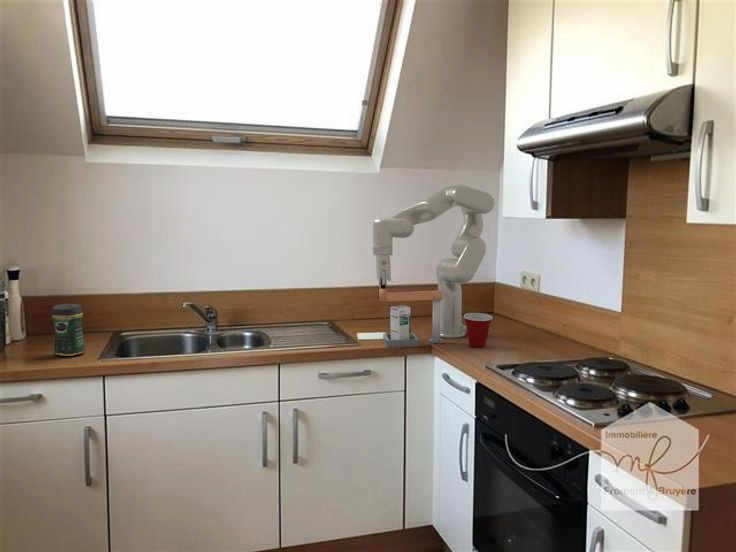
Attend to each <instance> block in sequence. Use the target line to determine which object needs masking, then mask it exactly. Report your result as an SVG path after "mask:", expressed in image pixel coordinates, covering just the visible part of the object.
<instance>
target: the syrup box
mask: <svg viewBox="0 0 736 552" xmlns="http://www.w3.org/2000/svg"><path fill="white" fill-rule="evenodd" d="M389 309H390V310H389V311H390V312H389V313H390V315H389V316H390V334H391V340H404V339H411V333H412V331H411V330H412V328H411V327H412V326H411V325H412V323H411V321H412V319H411V318H412V317H411V314H412V313H411V310H412V309H411V306H409V305H404V304H403V305H395V306H390V307H389Z"/></svg>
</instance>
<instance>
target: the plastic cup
mask: <svg viewBox="0 0 736 552" xmlns="http://www.w3.org/2000/svg"><path fill="white" fill-rule="evenodd" d="M463 318H464V321H465V322H464V323H465V326H466V327H467V330H466V333H467V339H468V344H469V347H470V348H473V349H484V348H485V347H486V345H487V340H488V337H489V330H490V325H491V322H492V320H493V319H494V317H493V316H492V315H490V314H488V313H484V312H482V313H481V312H469V313H468V312H467V313H465V314H464V315H463Z"/></svg>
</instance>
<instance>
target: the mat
mask: <svg viewBox="0 0 736 552" xmlns="http://www.w3.org/2000/svg"><path fill="white" fill-rule="evenodd" d="M383 334H387V333H386V332H385V331H384V332H357V333H356V336H357V340H358V341H374V340H375V341H379V340H381V341H383Z"/></svg>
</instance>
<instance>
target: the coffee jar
mask: <svg viewBox="0 0 736 552" xmlns="http://www.w3.org/2000/svg"><path fill="white" fill-rule="evenodd" d="M51 311H52V312H51V318H52V321H53V326H54V354H55V353H63V354H73V353H79V352H82V351H85V352H86V345H85V340H84V333H83V325H82V324H83V323H82V322H83V321H82V319H83V315H84V313H83V309H82V306H81V304H76V303H62V304H54V305H53V306H52V309H51Z"/></svg>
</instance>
